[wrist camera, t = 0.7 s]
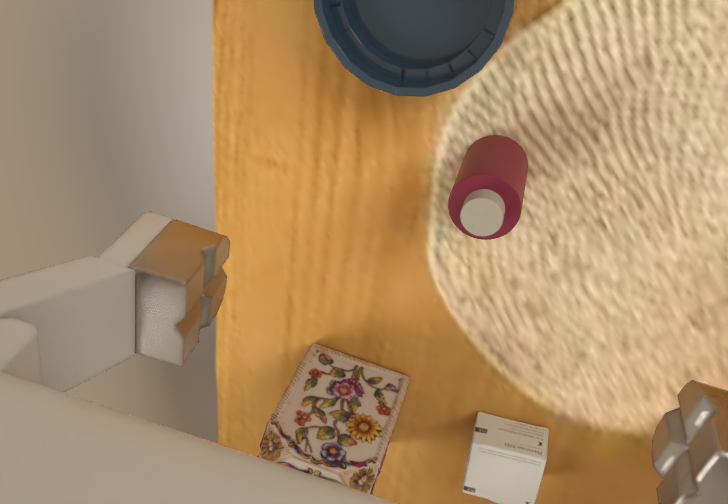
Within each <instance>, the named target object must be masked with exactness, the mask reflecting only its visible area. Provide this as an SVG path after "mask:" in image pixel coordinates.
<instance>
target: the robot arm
mask: <svg viewBox="0 0 728 504" xmlns="http://www.w3.org/2000/svg"><path fill="white" fill-rule="evenodd" d="M229 250H230V240H229V238H228V237H227V236H224V235H221V234H218V233H215V232H212V231H209V230H206V229H203V228H200V227H197V226H194V225H191V224H188V223H185V222H182V221H179V220H174V219H172V218H169V217H166V216H163V215H160V214H156V213H153V212H145V213H143V214H142V215H141V216H140V217H139V218H138V219H137V220H136V221H134V222H133V223H132V225H130V226H129V227H128V228H127V229H126V230H125V231H124V232H123V233H122V234H121V235H120V236H119V237H118V238H117V239H116V240H115V241H114V242H113V243H112V244H111V245H110V246H109V247H108V248H107V249H106V250H105V251H104V252H103V253H102V254H101V255H100V256H98V258H95V257H92V256H86V257H83V258H79V259H75V260H71V261H68V262H64V263H60V264H57V265H53V266H50V267H46V268H42V269H39V270H35V271H31V272H28V273H24V274H20V275H17V276H13V277H10V278H6V279H2V280H0V504H398V503H395V502H392V501H389V500H386V499H383V498H380V497H377V496H374V495H371V494H368V493H365V492H362V491H359V490H356V489H353V488H350V487H347V486H344V485H341V484H338V483H335V482H332V481H329V480H326V479H323V478H320V477H317V476H314V475H311V474H308V473H305V472H302V471H299V470H296V469H293V468H290V467H287V466H284V465H281V464H278V463H275V462H272V461H269V460H266V459H263V458H260V457H257V456H254V455H250V454H247V453H244V452H241V451H238V450H235V449H232V448H229V447H226V446H223V445H220V444H217V443H214V442H211V441H208V440H205V439H202V438H199V437H196V436H193V435H190V434H187V433H184V432H181V431H178V430H175V429H172V428H169V427H166V426H163V425H160V424H157V423H154V422H151V421H148V420H145V419H142V418H139V417H136V416H133V415H130V414H127V413H124V412H121V411H118V410H115V409H112V408H109V407H106V406H103V405H100V404H97V403H94V402H91V401H88V400H85V399H82V398H79V397H76V396H73V395H70V394H67V393H64V392H66V391H67V390H70V389H71V388H73V387H75V386H77V385H79V384H81V383H83V382H85V381H87V380H89V379H91V378H92V377H94V376H96V375H98V374H100V373H102V372H104V371H106V370H108V369H110V368H112V367H114V366H116V365H118V364H120V363H121V362H123V361H125V360H127V359H129V358H131V357H133V356H135V353H137V354H140V355H144V356H147V357H151V358H154V359H157V360H161V361H164V362H168V363H171V364H174V365H178V366H181V367H182V366H183V364H184V363H185V361H186V360H187V358H188V357H189V356H190V354H191V353H192V351H193V350H194V348H195V347H196V345H197V343H198V342H199V335H200V329H201V328H204V327H207V326H209V325H210V324H211V323H212V321H213V319H214V318H215V316H216V315H217V312H218V310H219V308H220V305H221V303H222V300H223V297H224V293H225V289H226V281H227V276H226V274H225V272H224V270H223V269H222V266H223V264H224V263H225V262H226V260H227V259H228V257H229ZM677 396H678V400H679V405H680V408H677V409H675V410H672V411H670V412H667V413H665V414H664V416H663V418H662V419H661V421H660V422H659V424H658V425H657V427H656V431H655V434H654V437H653V441H652V452H651V455H652V462H653V467H654V468H655V470H656V471H657V472H658V473H659V475H660V476H661V477H662V479H663V480H662V482H661V483H660V484H659V486H658V487H657V495H658V501H659V504H728V391H727V390H724V389H721V388H717V387H714V386H711V385H707V384H704V383H701V382H698V381H694V380H691V381H690V382H689V383H687V384H686V385H685V386H684V387H683V389H682V390H681V391H680V393H679V394H678V395H677Z"/></svg>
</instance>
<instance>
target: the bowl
mask: <svg viewBox="0 0 728 504" xmlns="http://www.w3.org/2000/svg"><path fill="white" fill-rule="evenodd" d="M516 6H517V0H314V9H315V14H316V16H317V19H318V22H319V25H320V27H321V30H322V33H323V36H324V38H325V41H326V43H327V44H328V45H329V47H330V48H331V50H332V51H333V52H334V54H335V55H336V56H337V58H338V59H339V61H340V62H341V63H342V65H343V66H344V67H345V68H346V69H347V70H349V71H350V72H351V73H353V74H354V75H355V76H356V77H358V78H359V79H360V80H362V81H363V82H364V83H366V84H367V85H369V86H372V87H374V88H377V89H380V90H383V91H385V92H388V93H391V94H394V95H398V96H429V95H433V94H436V93H440V92H443V91H447V90H450V89H454V88H456V87H457V86H459V85H460V84H462V83H463V82H465V81H466V80H468V79H469V78H471V77H472V76H474V75H475V74H476V73H478V72H479V71H480V70H482V68H483V67H484V66H485V65H486V63H487V62H488V61H489V60H490V58H491V57H492V56H493V55H494V53H495V52H496V51H497V49H498V48H499V47H500V46H501V44H502V42H503V39H504V37H505V35H506V32H507V29H508V27H509V24H510V22H511V19H512V16H513V14H514V11H515V9H516Z"/></svg>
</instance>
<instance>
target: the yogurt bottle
mask: <svg viewBox="0 0 728 504" xmlns="http://www.w3.org/2000/svg"><path fill="white" fill-rule="evenodd" d="M527 171H528V161H527V157H526V154H525V152H524V150H523V149H522V148H521V146H520V145H519V144H518V143H516V142H515V141H514V140H512V139H510V138H508V137H504V136H499V135H493V136H487V137H484V138H481V139H479V140H478V141H476V142H475V143H474V144H472V145H471V147H470V148H469V149H468V151H467V153H466V155H465V157H464V160H463V163H462V165H461V168H460V170H459V173H458V176H457V178H456V181H455V183H454V186H453V189H452V191H451V194H450V197H449V202H448V209H449V214H450V217H451V219H452V221H453V222H454V224H455V225H456V226H457V227H458V228H459V229H460V230H461V231H462V232H463V233H465V234H467V235H469V236H471V237H474V238H477V239H485V240H487V239H495V238H499V237H501V236H503V235H505V234H507V233H508V232H510V231H511V230H512V229H513V228H514V227H515V225H516V224H517V222H518V221H519V218H520V215H521V210H522V203H523V197H524V190H525V184H526V177H527Z"/></svg>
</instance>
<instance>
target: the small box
mask: <svg viewBox="0 0 728 504" xmlns="http://www.w3.org/2000/svg"><path fill="white" fill-rule="evenodd" d="M548 435H549V429H548V428H546V427H539V426H535V425H531V424H527V423H522V422H518V421H514V420H510V419H506V418H502V417H498V416H494V415H490V414H487V413H484V412H480V411H479V412H478V413H477V418H476V422H475V426H474V431H473V435H472V440H471V445H470V450H469V454H468V460H467V465H466V470H465V476H464V481H463V487H462V492H463V493H467V494H471V495H475V496H478V497H482V498H486V499H489V500H491V501H493V502H495V503H500V504H535V502H536V498H537V494H538V490H539V487H540V483H541V479H542V475H543V471H544V468H545V464H546V460H547V446H548Z"/></svg>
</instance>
